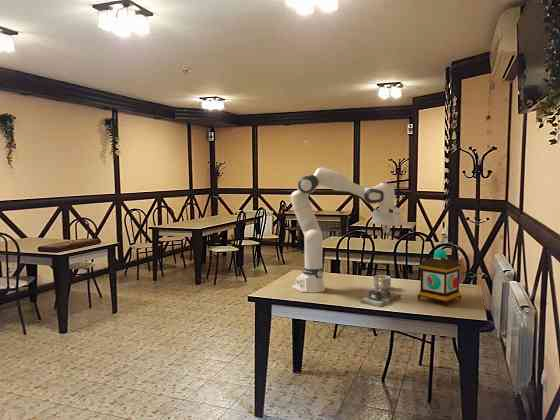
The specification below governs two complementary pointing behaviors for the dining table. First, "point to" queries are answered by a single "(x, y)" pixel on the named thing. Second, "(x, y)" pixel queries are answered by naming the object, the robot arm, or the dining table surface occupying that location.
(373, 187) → the robot arm
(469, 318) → the dining table surface
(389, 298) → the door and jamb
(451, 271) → the decorative lantern
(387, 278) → the teacup
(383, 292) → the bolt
